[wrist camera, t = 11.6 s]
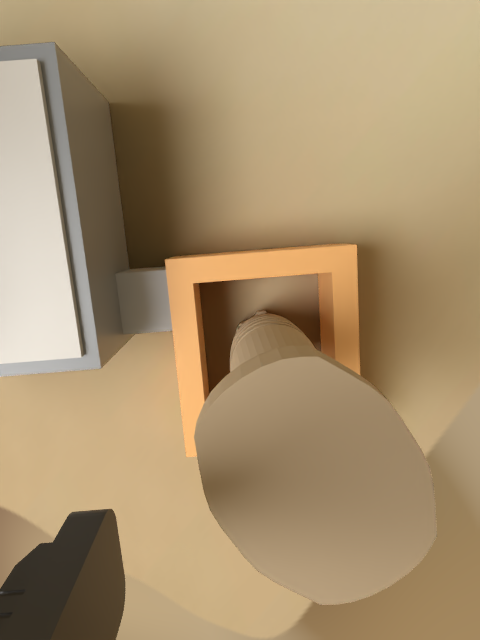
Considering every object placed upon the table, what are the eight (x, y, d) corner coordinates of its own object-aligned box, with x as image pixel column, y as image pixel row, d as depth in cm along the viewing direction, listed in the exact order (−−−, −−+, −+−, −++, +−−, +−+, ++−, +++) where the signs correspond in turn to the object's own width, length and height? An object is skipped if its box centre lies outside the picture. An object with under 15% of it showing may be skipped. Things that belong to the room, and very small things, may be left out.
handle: (267, 266, 24) (335, 315, 9) (328, 358, 25) (476, 535, 10) (195, 314, 24) (150, 437, 10) (259, 404, 25) (305, 636, 11)
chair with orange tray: (-104, 118, 22) (-1126, -245, 5) (333, 85, 22) (639, -365, 6) (-35, 446, 26) (-534, 840, 9) (344, 415, 26) (556, 745, 9)
